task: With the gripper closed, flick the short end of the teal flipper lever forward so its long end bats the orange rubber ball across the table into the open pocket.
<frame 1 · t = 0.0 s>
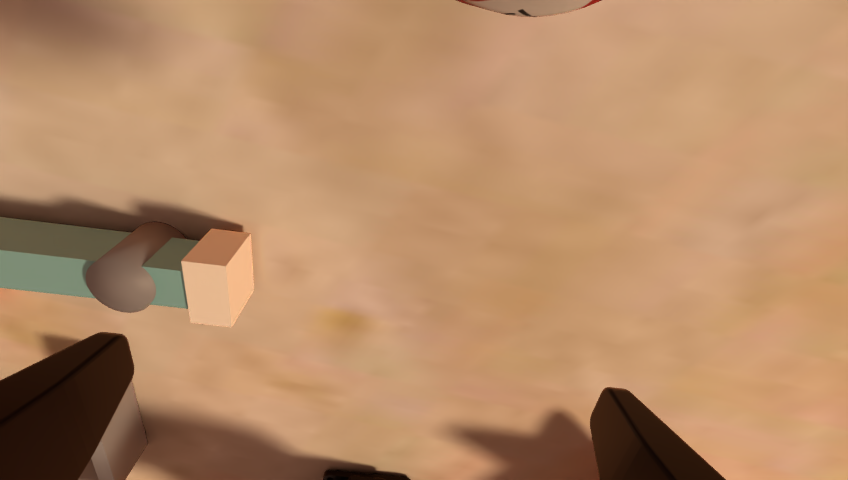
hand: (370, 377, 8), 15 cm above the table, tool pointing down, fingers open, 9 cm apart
pocket: (26, 384, 29), on the table
lever: (60, 255, 22), point 2 cm above the table, hinge at 0.0°
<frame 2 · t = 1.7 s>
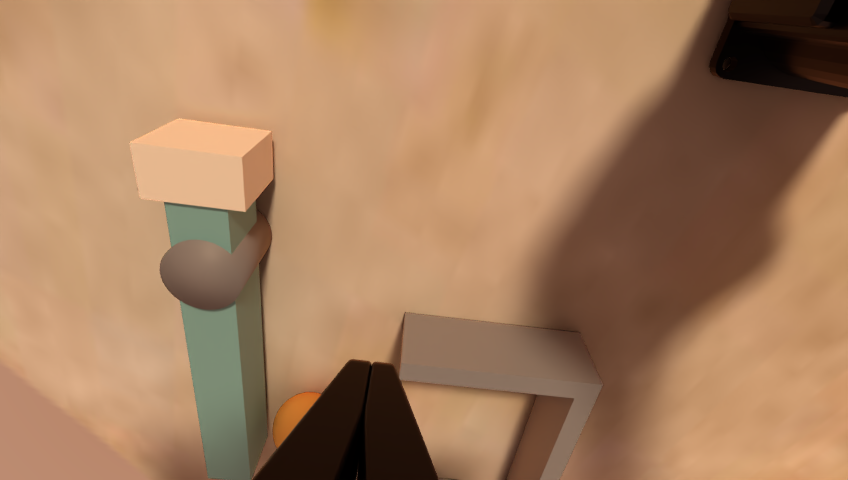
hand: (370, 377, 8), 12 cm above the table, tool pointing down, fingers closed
pocket: (459, 415, 26), on the table
lever: (228, 327, 20), point 2 cm above the table, hinge at 0.0°
ball: (307, 426, 24), point 2 cm above the table
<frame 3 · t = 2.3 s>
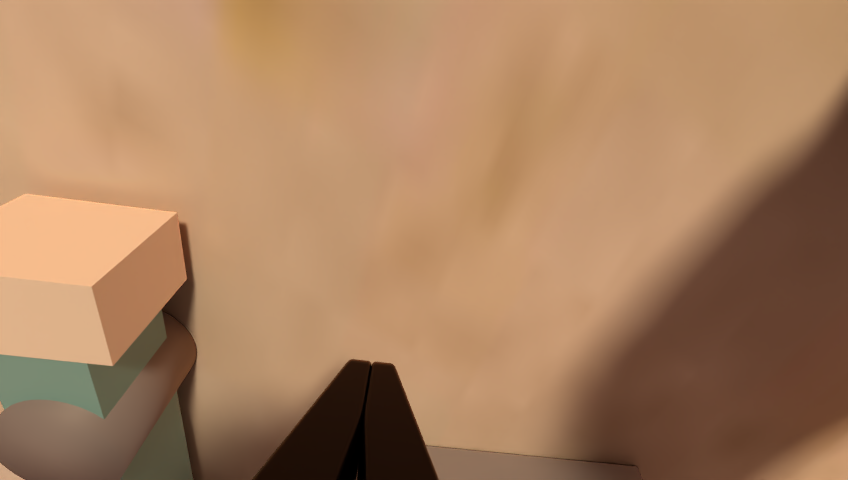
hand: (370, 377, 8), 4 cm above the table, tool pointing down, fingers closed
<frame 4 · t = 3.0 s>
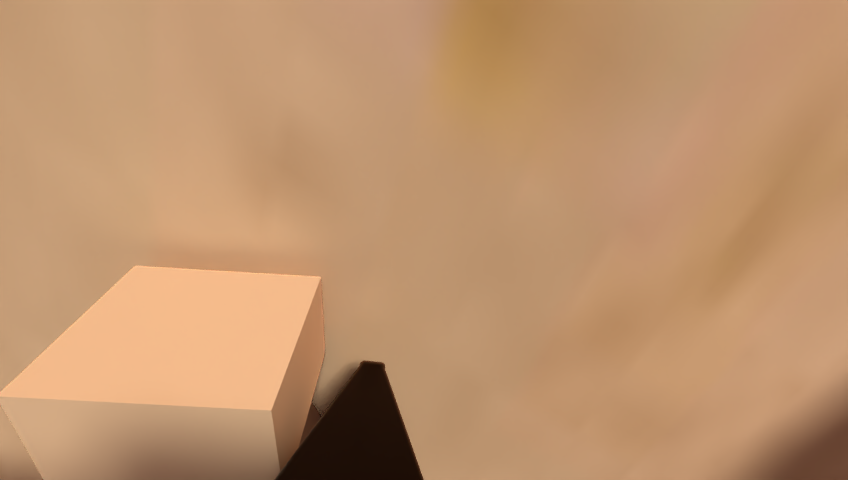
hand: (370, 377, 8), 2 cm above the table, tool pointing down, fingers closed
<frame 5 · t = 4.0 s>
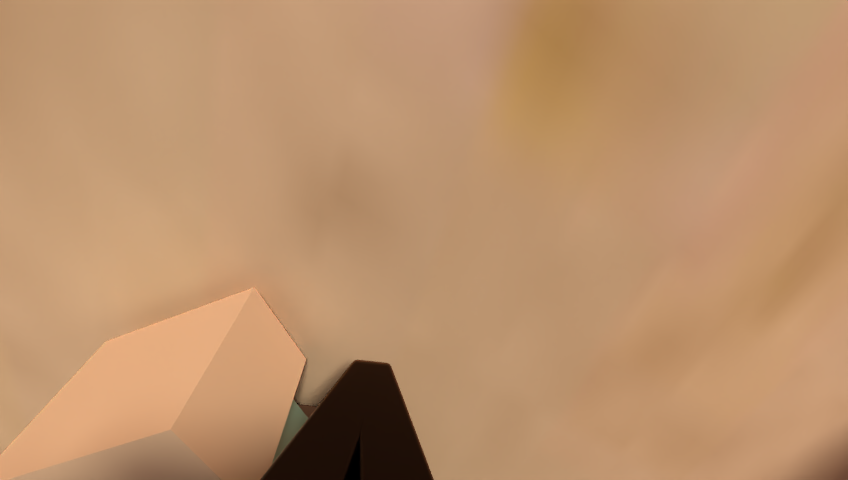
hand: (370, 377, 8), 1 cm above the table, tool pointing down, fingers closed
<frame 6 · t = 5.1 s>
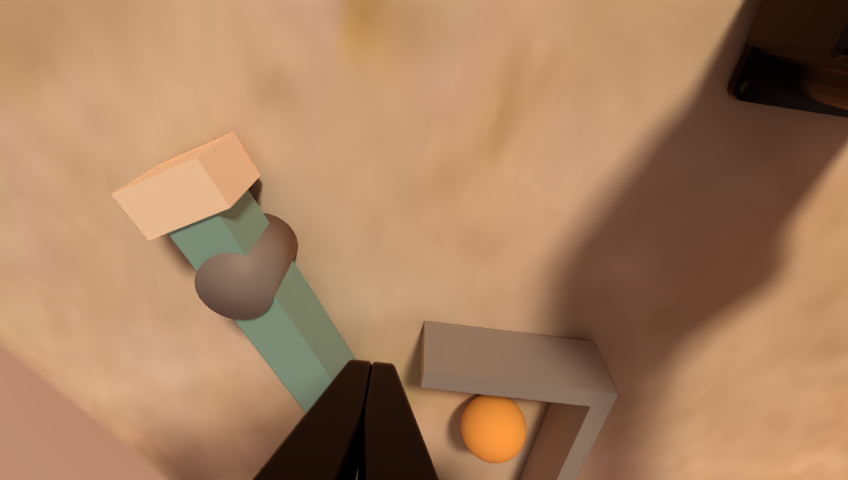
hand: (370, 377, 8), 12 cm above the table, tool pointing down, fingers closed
pocket: (474, 420, 27), on the table
lever: (297, 331, 21), point 2 cm above the table, hinge at 30.1°
ball: (493, 427, 24), point 2 cm above the table, tilted 70°
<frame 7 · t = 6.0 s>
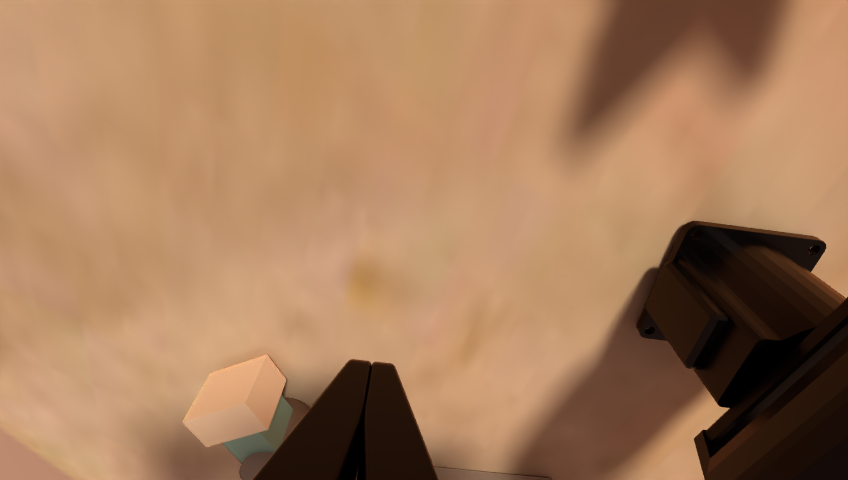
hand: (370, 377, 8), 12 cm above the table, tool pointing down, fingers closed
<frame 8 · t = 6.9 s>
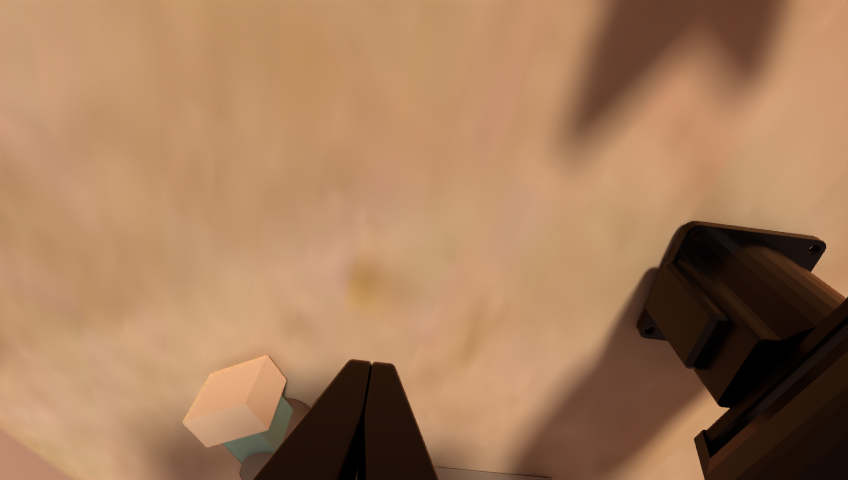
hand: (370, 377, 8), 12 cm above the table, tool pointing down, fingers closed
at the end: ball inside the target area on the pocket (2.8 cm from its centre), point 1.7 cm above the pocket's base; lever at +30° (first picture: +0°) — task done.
